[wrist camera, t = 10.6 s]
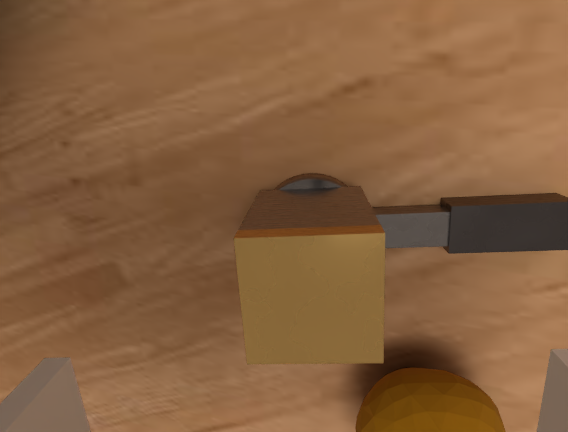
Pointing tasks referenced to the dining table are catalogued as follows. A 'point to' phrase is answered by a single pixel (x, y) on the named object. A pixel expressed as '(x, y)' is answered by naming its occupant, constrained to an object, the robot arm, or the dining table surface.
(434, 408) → the apple
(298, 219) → the lidded square canister
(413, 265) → the dining table surface
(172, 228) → the dining table surface
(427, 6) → the dining table surface
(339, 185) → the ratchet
